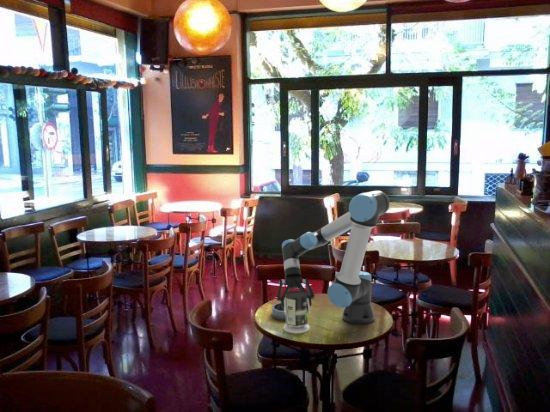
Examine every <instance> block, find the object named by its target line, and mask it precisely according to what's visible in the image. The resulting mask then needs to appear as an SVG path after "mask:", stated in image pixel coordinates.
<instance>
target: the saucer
mask: <svg viewBox="0 0 550 412" xmlns="http://www.w3.org/2000/svg"><path fill="white" fill-rule="evenodd" d="M310 329H311V328H310V325H309V323H308V324H307V325H306V326H304V327H290V326H287V325H286V323H285V324H284V325H283V331H284V332H285V333H288V334H289V333H290V334H295V335H297V334H304V333H307V332H309V331H310Z"/></svg>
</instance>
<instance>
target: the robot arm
mask: <svg viewBox="0 0 550 412" xmlns="http://www.w3.org/2000/svg"><path fill="white" fill-rule="evenodd" d="M390 205H391V204H390V198H389V197H388V195H387V194H386V193H385V192H384V191H381V190H371V191H366V192H361V193H359V194H356V195H355V196H353V197H352V199H351V200H350V202H349V204H348V211H347V212H346V213H344V214H342V215H340V216H339V217H337V218H336V219H333V220H332V221H331V222H330V223H328V224H326V225H324V226H322V227H321V228H319V229H317V230H316V231H314V232H311V231H307V232H305V233H304V234H302V235H300V236H299V237H298V238H296V239H286V240H284V241H283V242H282V244H281V252H282V259H283V269H284V277H285V278H284V279H279V281H278V285H279V288H278V292H277V297H276V300H277V301H279V302H281V307H282V308H284V310H283V311H284V313H285V315H286V314H287V309H286V301H285V293H287V292H289V291H290V289H291V290H292V289H298V291H304V292H306V293H307V294H308V296H307V315H310V313H311V306H312V300H314V299H315V292H314V291H313V289H312V287H311V285H310V283H309V279H308V278H307V277H306V278H305V279H304V278H302V274H301V273H302V272H301V267H300V258H299V257H301V256H302V255H304V254H305V253H306V252H308V251H311V250H314V249H316V248H319V247H323V246H325V245H327V244H328V243H329V242H330V241H332V240H334V239H335V238H337V237H339V236H341V235H342V234H344V233H346V232H348V231H349V230H350V232H349V235H348V239H347V242H346V243H347V244H346V248H345V251H344V256H343V259H342V263H341V267H340V270H339V272H336V274H335V277H334V282H333V283H332V284H330V285H329V286H328V289H327V297H328V299H329V301H330V303H331V304H332V305H333V306H334V307H337V308H339V309H343V311H342V319H343V321H345V322H347V323H351V324H358V325H359V324H360V325H364V324H365V325H366V324H370V323H372V322H374V321H375V312H374V308H373V305H372V275H371V273H369V272H367V271H362V266H363V262H364V258H365V255H366V251H367V247H368V243H369V239H370V236H371V233H372V229H374V228H375V227H377V224H378V220H379V217H380V216H383V215H384V214H386V213H387V212H388V211H389V209H390ZM302 283H303V284H304V285H305V287H306V288H305V287H304V286H303V284H302ZM284 284H286V288H285V290H284V291H283V290H282V288H283V286H284ZM282 291H283V294H282V295H281V293H282Z"/></svg>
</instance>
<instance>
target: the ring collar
mask: <svg viewBox="0 0 550 412" xmlns="http://www.w3.org/2000/svg"><path fill="white" fill-rule="evenodd" d="M271 316H272V318H275V319H277V320H282V321H286V315H285V313H284V308H282V307H281V301H279V302H277V303H274V304H273V305H272V306H271Z"/></svg>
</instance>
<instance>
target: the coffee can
mask: <svg viewBox="0 0 550 412" xmlns="http://www.w3.org/2000/svg"><path fill="white" fill-rule="evenodd" d="M308 294H309V293H308ZM308 294H307V293H306V292H304V291H300V290H289V291H288V292H287V293H285V301H286V309H287V314H286V320H285V324H286V325H287V326H290V327H304V326H306V325H307V324H308V325H309V323H308V319H309V317H308V310H307V296H308Z"/></svg>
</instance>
